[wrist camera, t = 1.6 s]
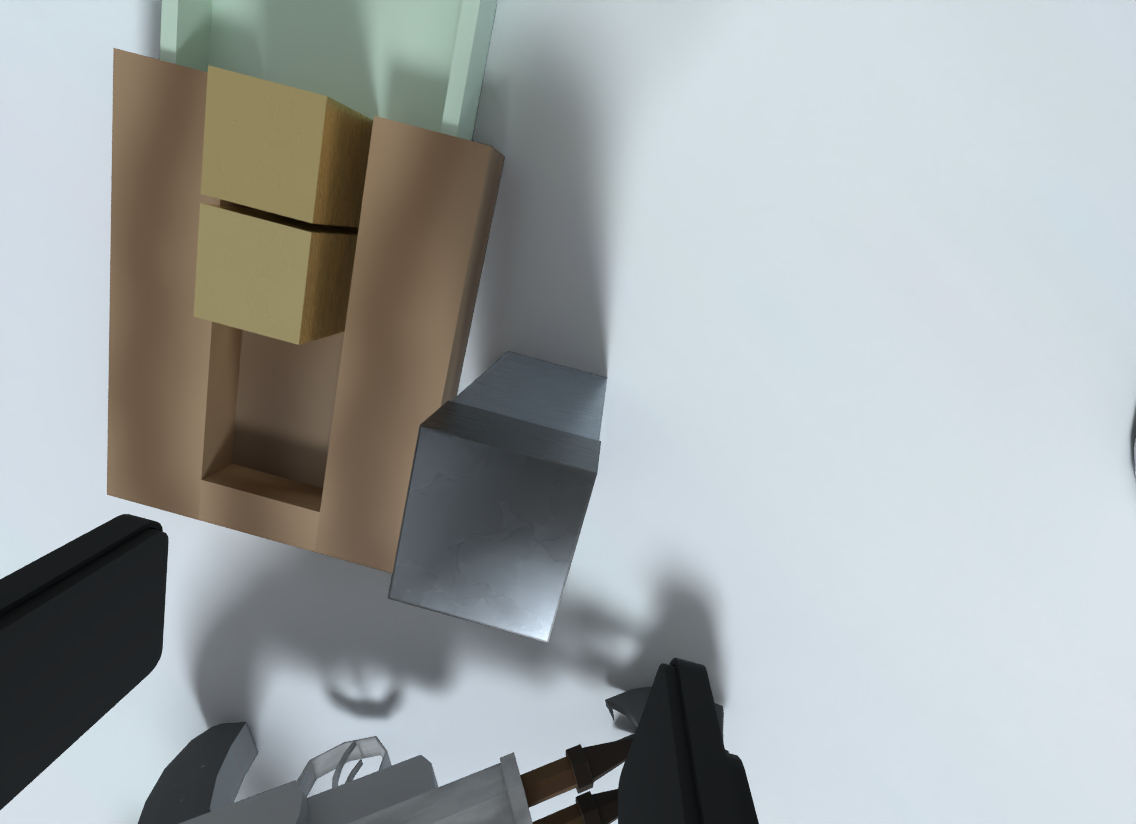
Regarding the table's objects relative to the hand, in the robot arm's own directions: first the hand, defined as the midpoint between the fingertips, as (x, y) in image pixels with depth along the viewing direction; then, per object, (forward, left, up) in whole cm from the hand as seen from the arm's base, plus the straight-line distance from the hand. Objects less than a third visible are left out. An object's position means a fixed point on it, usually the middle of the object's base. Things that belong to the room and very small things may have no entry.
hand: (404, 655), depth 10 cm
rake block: (-1, 0, -15) cm, 15 cm away
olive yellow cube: (+10, -4, -15) cm, 19 cm away
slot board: (+10, -1, -15) cm, 19 cm away
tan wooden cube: (+10, -8, -15) cm, 20 cm away
